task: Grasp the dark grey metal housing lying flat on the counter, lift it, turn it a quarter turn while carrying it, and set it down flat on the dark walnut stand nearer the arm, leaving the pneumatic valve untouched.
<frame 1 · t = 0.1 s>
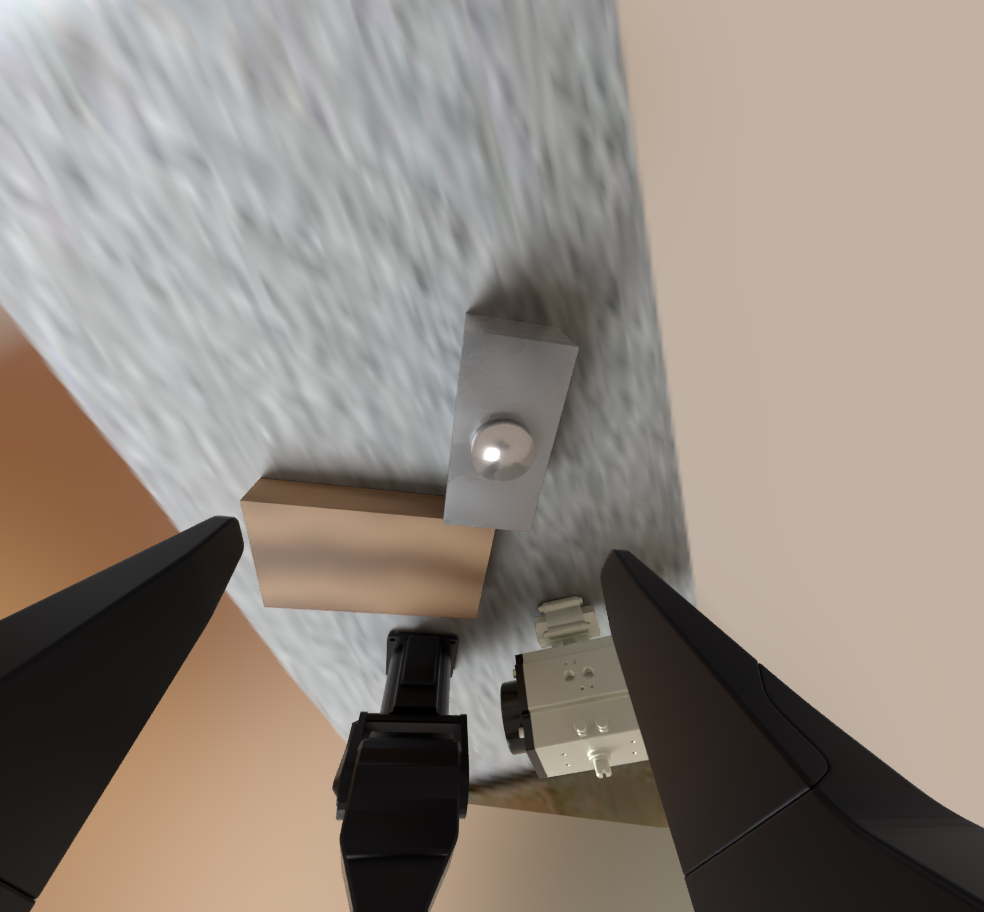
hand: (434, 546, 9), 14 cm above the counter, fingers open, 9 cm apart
housing: (496, 409, 23), on the counter
walnut stand: (381, 542, 28), on the counter
pneumatic valve: (560, 604, 33), on the counter
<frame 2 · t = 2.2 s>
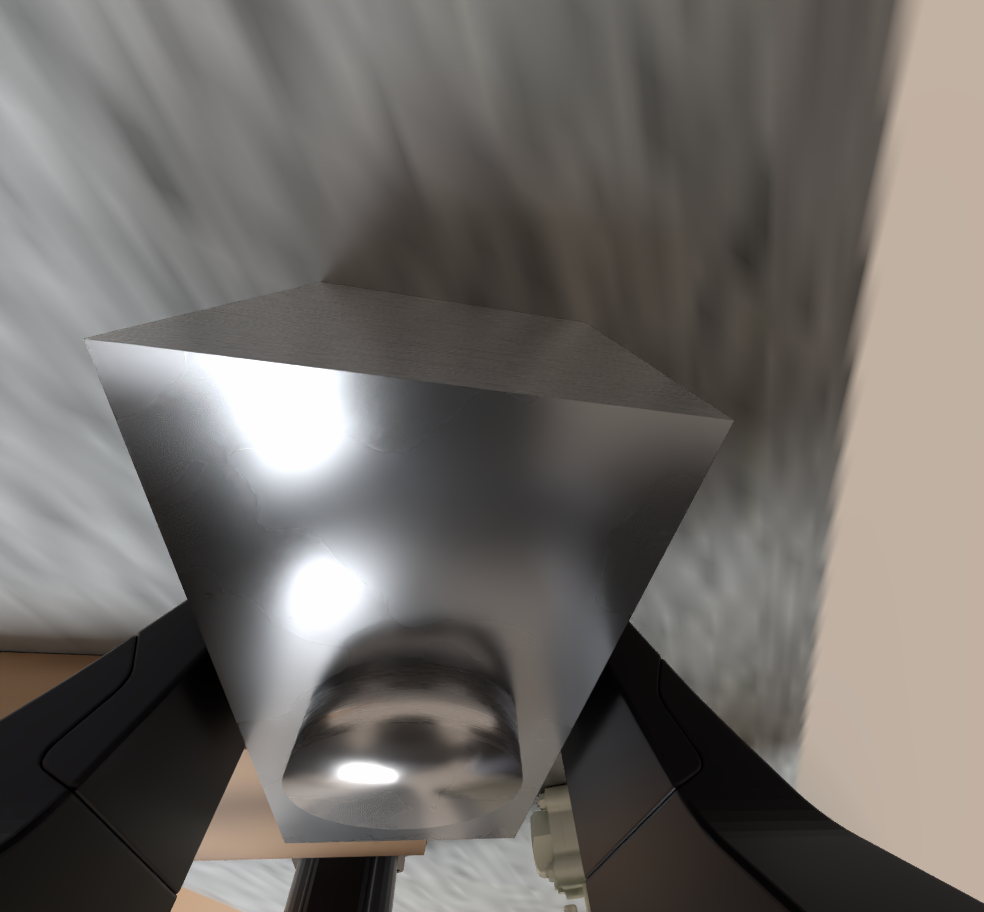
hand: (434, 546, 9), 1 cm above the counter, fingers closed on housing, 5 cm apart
housing: (438, 515, 10), on the counter, touching gripper
walnut stand: (240, 731, 15), on the counter
pneumatic valve: (575, 784, 20), on the counter
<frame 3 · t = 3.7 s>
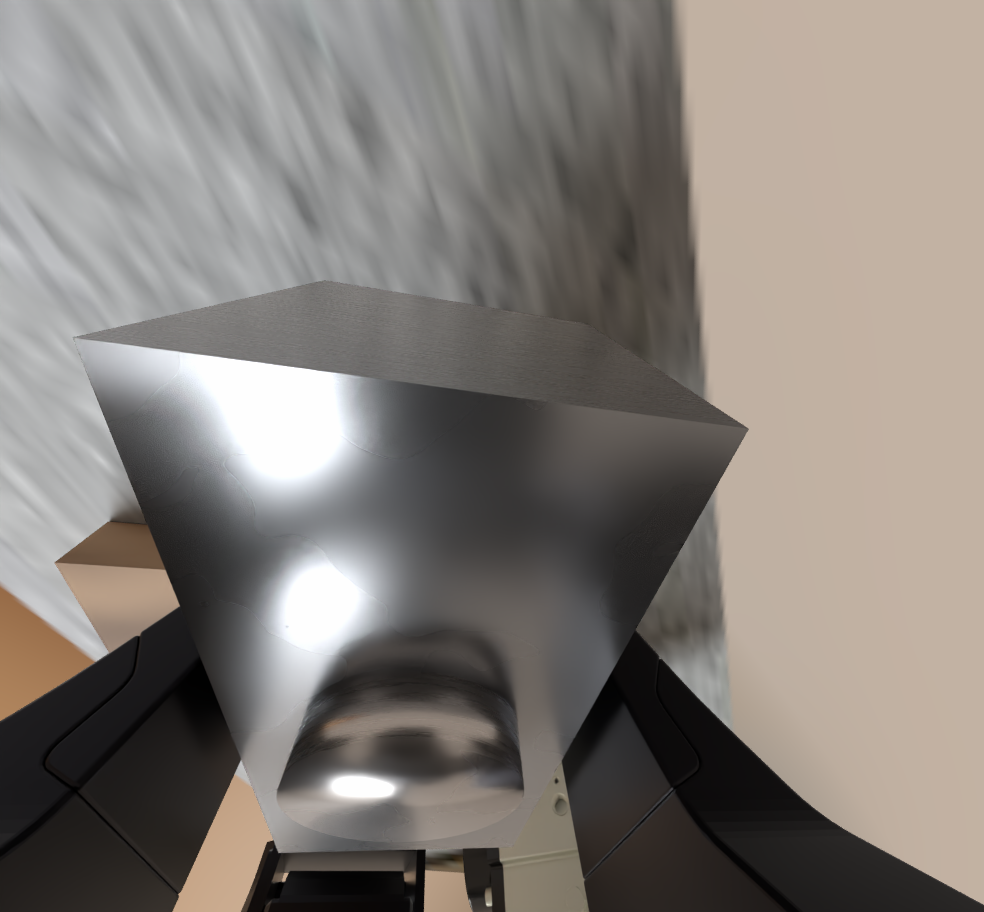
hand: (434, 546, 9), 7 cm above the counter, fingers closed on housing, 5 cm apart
housing: (438, 518, 10), point 6 cm above the counter, touching gripper
walnut stand: (301, 603, 20), on the counter
pneumatic valve: (552, 671, 25), on the counter
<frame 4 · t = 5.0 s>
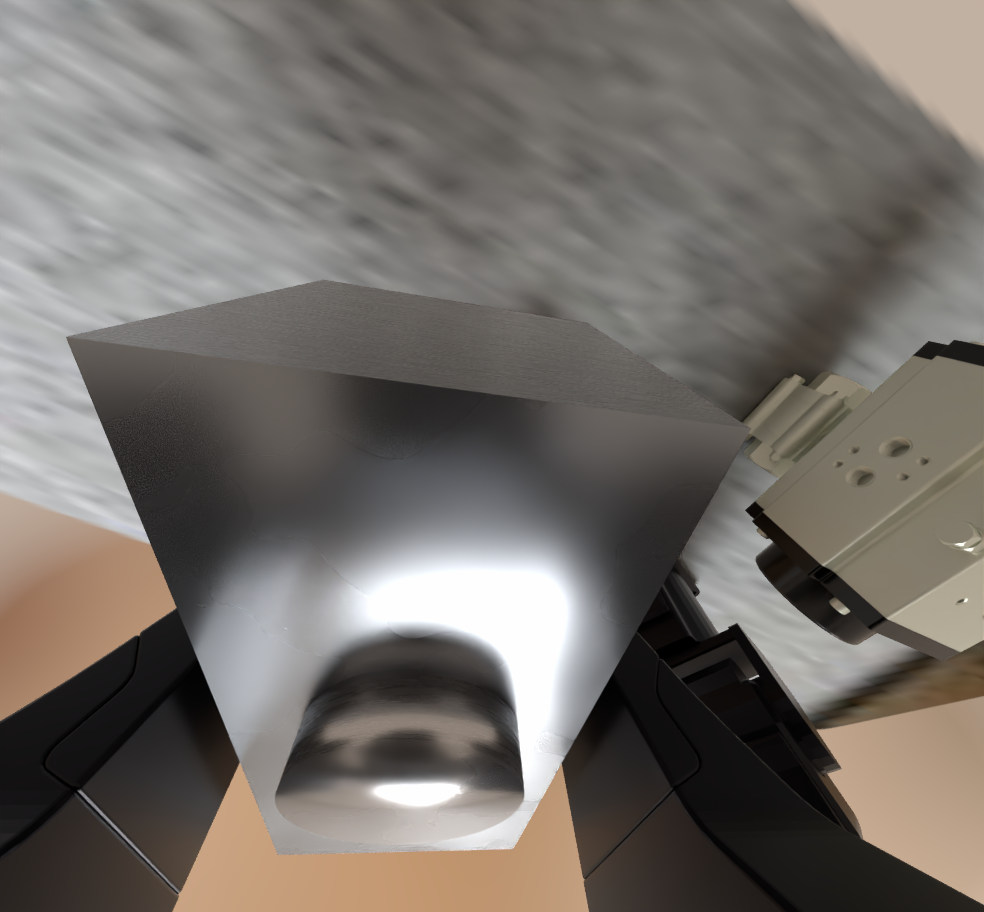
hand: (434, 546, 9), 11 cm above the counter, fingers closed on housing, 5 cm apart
housing: (437, 518, 10), point 10 cm above the counter, touching gripper
pneumatic valve: (770, 409, 20), on the counter
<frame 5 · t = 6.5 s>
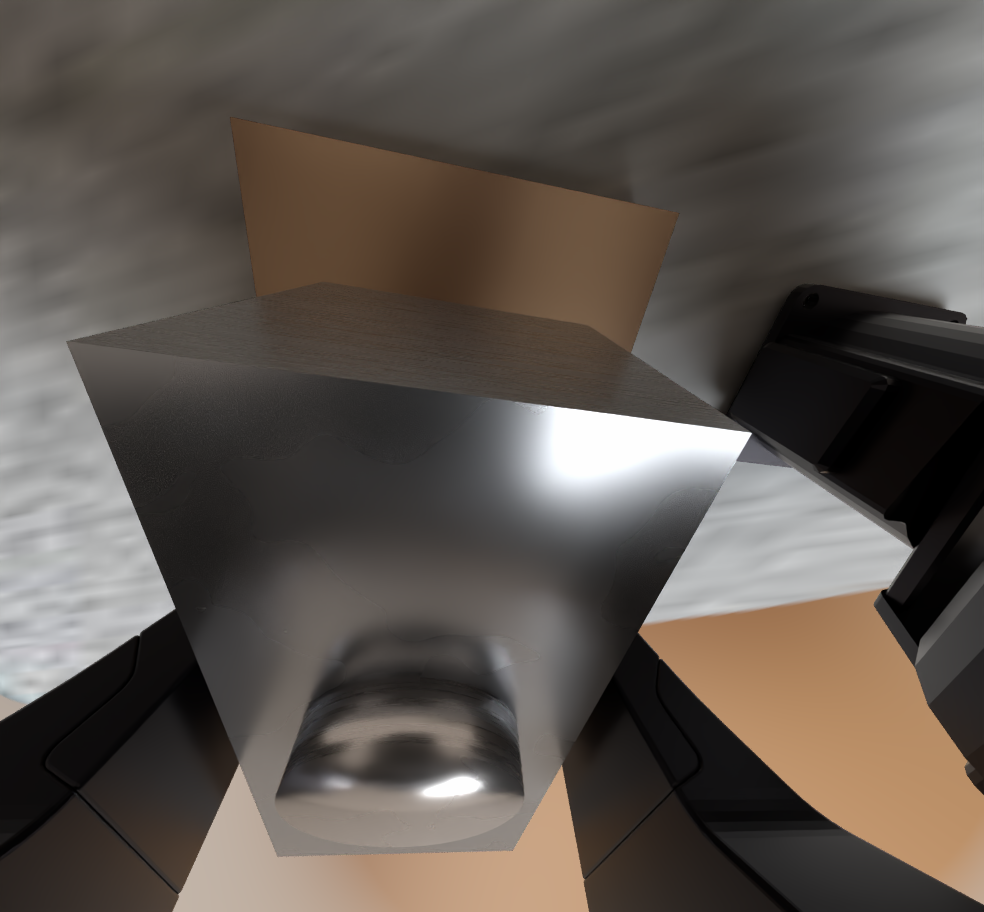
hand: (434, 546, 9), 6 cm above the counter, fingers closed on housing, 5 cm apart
housing: (437, 520, 10), point 5 cm above the counter, touching gripper
walnut stand: (444, 436, 14), on the counter
when the fingers open (5 cm above the counter, at t = 7.5 s): housing drops 1 cm, resting on walnut stand.
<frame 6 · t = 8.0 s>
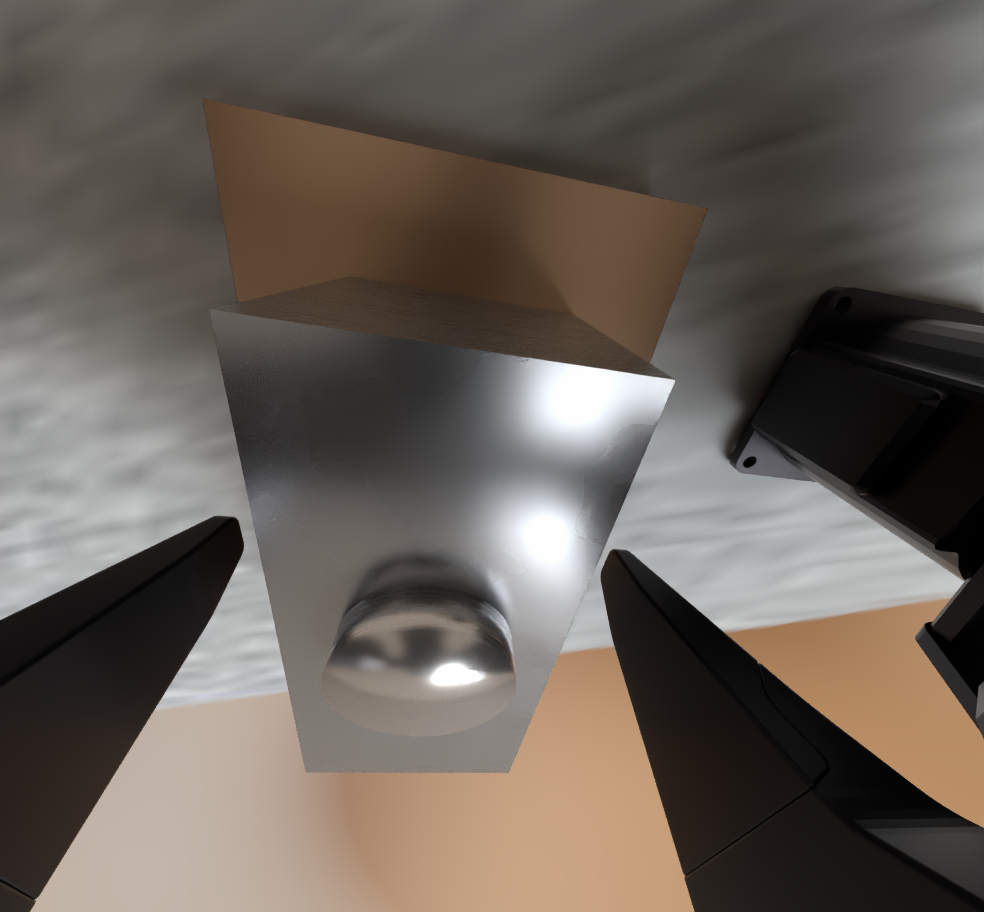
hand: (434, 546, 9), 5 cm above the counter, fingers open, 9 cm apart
housing: (443, 489, 11), point 2 cm above the counter, touching walnut stand
walnut stand: (445, 448, 13), on the counter
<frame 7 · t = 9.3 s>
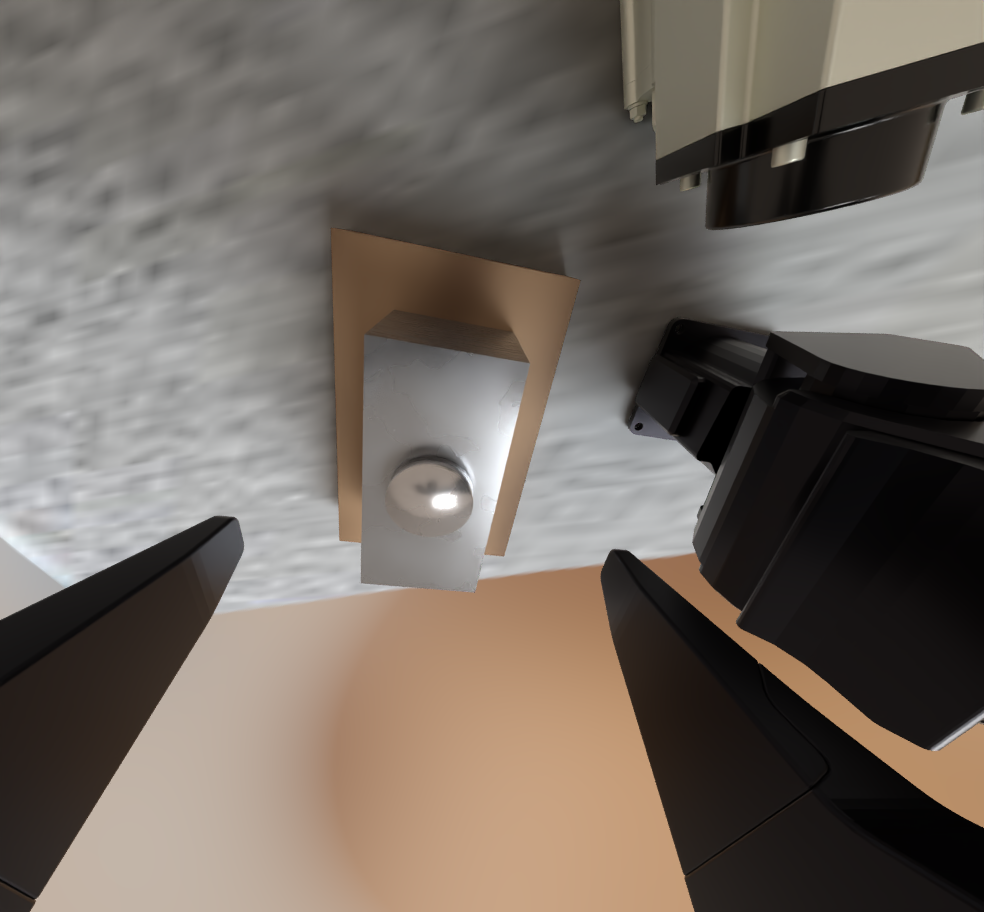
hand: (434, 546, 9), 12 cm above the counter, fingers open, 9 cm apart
housing: (440, 433, 18), point 2 cm above the counter, touching walnut stand
walnut stand: (442, 413, 20), on the counter
pneumatic valve: (650, 49, 14), on the counter
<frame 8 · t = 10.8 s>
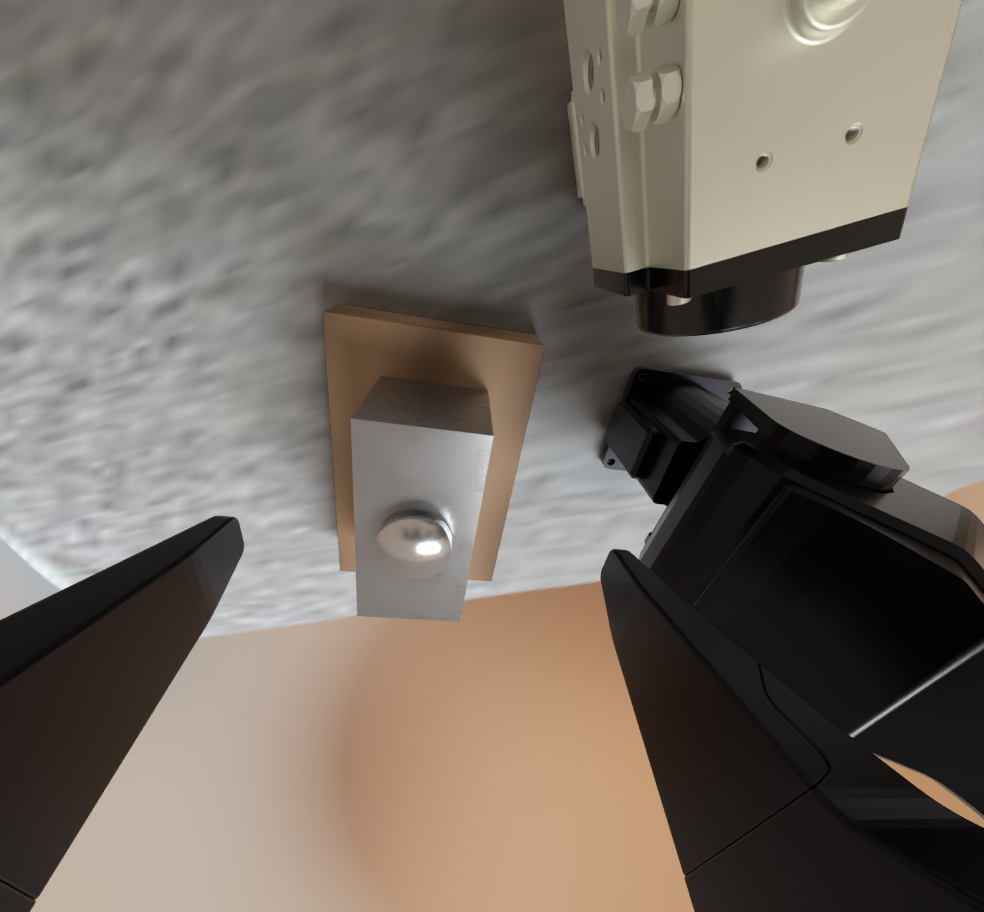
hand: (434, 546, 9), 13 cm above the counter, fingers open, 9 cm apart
housing: (427, 476, 20), point 2 cm above the counter, touching walnut stand
walnut stand: (430, 454, 22), on the counter
pneumatic valve: (598, 147, 16), on the counter
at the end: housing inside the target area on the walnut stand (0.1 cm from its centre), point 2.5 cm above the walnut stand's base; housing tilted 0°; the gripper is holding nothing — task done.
